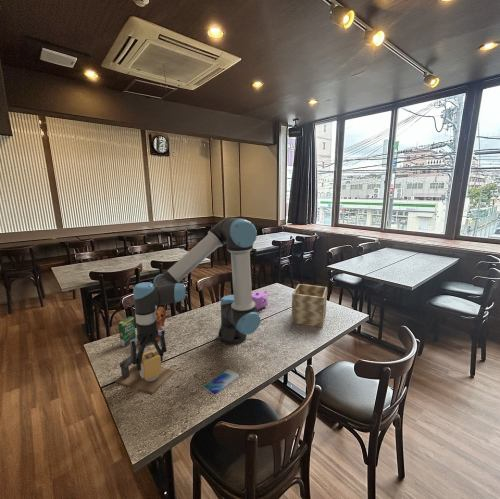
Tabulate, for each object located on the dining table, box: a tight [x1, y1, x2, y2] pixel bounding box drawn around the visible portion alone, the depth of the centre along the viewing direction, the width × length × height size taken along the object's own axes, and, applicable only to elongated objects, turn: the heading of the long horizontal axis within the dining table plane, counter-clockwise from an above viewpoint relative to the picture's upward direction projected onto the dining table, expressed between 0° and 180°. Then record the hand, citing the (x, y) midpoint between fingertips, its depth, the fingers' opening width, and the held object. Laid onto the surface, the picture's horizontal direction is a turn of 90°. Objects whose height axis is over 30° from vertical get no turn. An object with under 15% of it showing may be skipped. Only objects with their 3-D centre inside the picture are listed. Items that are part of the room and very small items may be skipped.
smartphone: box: [203, 368, 241, 396], centre depth 111 cm, size 7×1×15 cm
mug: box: [155, 306, 166, 342], centre depth 145 cm, size 15×8×15 cm, turn 168°
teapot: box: [252, 289, 269, 311], centre depth 182 cm, size 15×13×11 cm
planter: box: [290, 283, 328, 328], centre depth 165 cm, size 18×19×18 cm
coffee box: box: [117, 315, 137, 348], centre depth 139 cm, size 8×3×13 cm, turn 159°
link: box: [142, 349, 162, 380], centre depth 115 cm, size 16×6×8 cm, turn 41°
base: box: [114, 352, 176, 395], centre depth 113 cm, size 19×14×12 cm
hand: (150, 372), depth 113 cm, fingers closed on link, 6 cm apart
